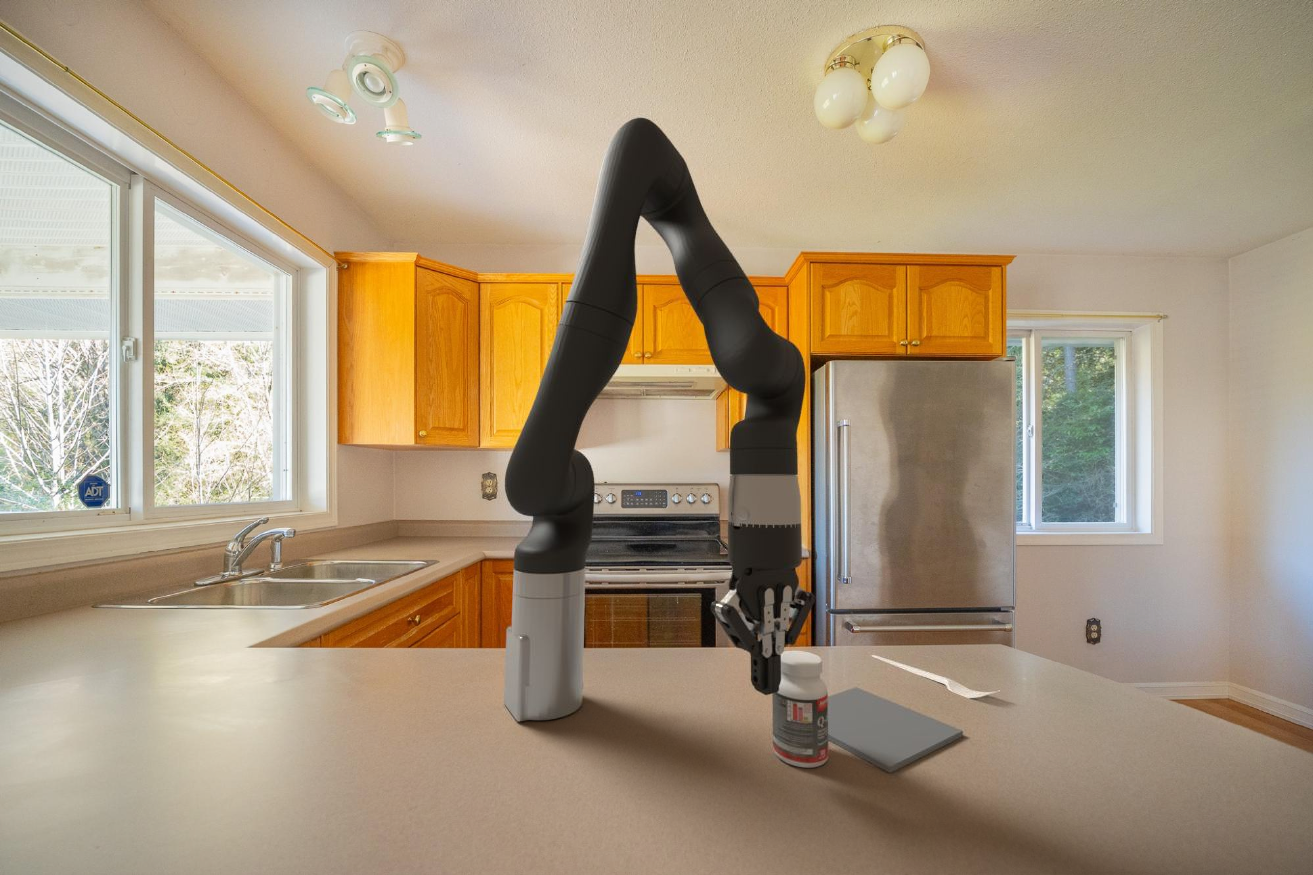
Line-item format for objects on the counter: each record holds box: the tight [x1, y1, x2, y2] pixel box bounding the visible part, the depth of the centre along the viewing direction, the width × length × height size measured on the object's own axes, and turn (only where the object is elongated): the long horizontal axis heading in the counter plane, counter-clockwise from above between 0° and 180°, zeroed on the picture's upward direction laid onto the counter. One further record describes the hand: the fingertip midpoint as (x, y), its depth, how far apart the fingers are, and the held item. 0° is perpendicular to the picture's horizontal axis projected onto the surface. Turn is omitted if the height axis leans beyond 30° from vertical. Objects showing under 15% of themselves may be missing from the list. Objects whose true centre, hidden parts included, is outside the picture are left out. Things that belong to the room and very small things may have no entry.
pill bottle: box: [772, 650, 830, 769], centre depth 53 cm, size 6×6×10 cm
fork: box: [871, 654, 1001, 699], centre depth 74 cm, size 3×20×2 cm, turn 25°
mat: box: [828, 686, 964, 774], centre depth 59 cm, size 14×14×1 cm
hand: (765, 690), depth 50 cm, fingers closed
